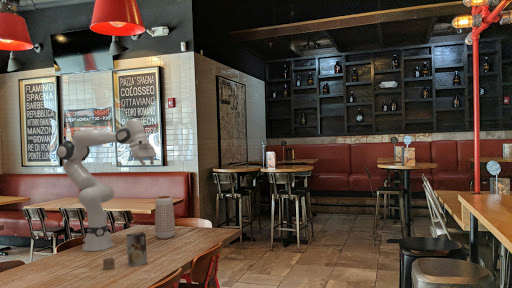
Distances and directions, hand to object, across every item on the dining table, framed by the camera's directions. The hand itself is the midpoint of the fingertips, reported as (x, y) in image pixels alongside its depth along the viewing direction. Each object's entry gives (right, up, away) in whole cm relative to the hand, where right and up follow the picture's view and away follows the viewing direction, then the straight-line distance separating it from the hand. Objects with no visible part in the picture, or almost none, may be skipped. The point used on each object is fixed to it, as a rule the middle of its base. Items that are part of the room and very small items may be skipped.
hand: (148, 164), depth 223 cm
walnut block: (-12, -52, -31) cm, 62 cm away
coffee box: (+1, -52, -24) cm, 57 cm away
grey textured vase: (+2, -52, +32) cm, 62 cm away
